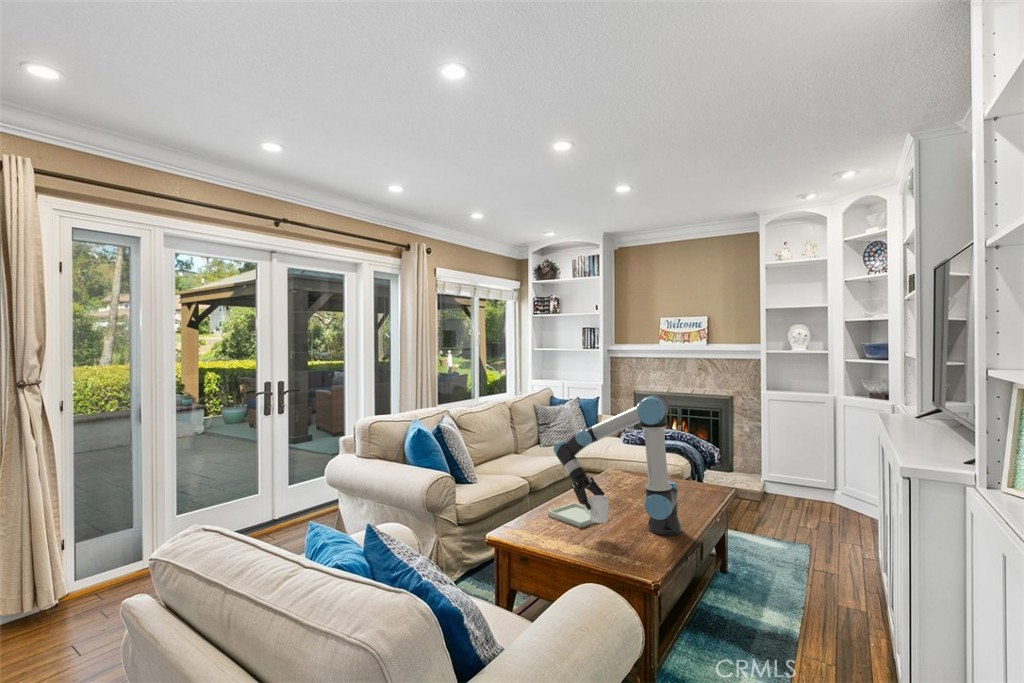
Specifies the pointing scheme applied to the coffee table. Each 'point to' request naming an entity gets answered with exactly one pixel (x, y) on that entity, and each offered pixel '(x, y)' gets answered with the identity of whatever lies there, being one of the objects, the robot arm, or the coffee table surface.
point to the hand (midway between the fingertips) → (601, 512)
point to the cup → (598, 508)
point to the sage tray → (572, 515)
